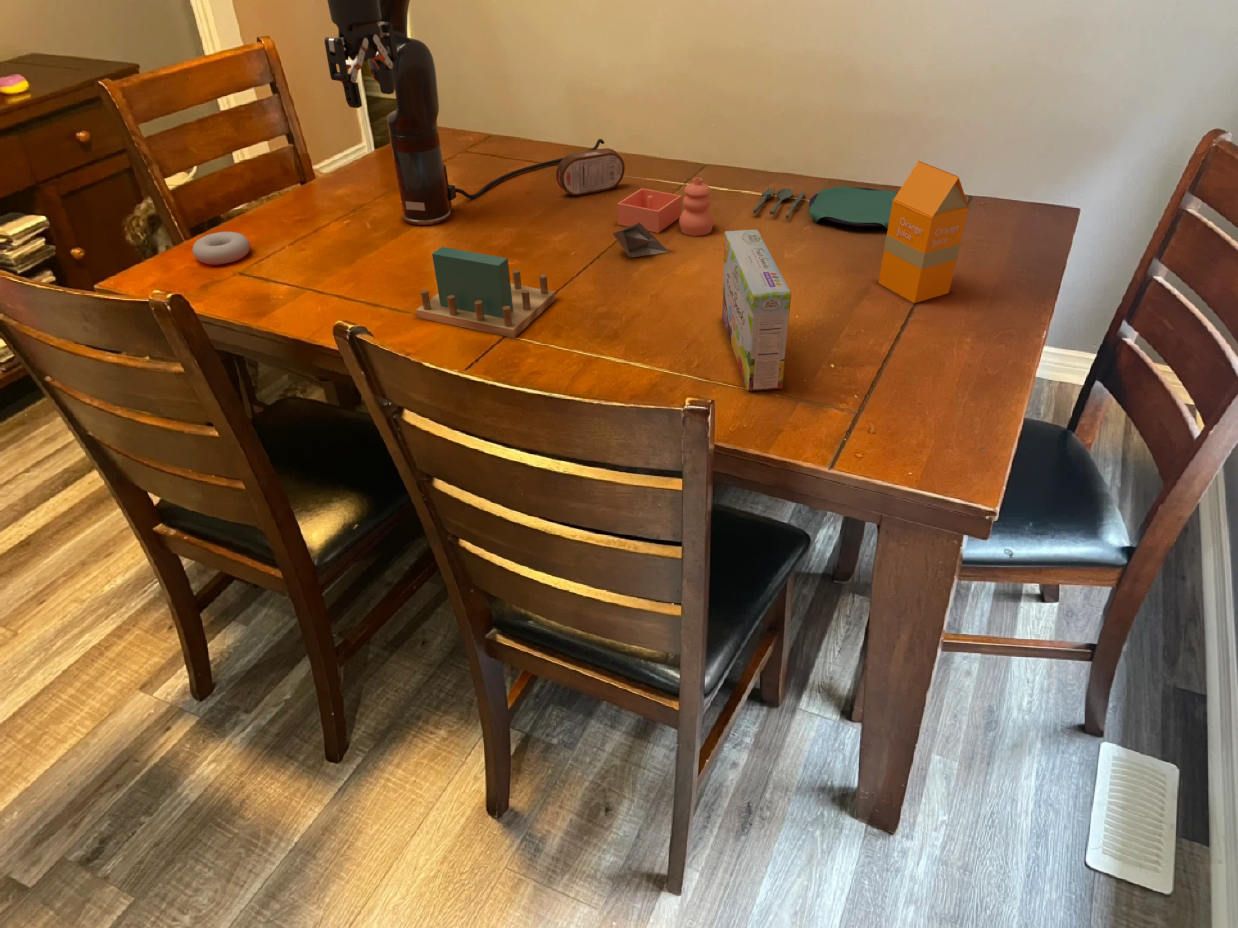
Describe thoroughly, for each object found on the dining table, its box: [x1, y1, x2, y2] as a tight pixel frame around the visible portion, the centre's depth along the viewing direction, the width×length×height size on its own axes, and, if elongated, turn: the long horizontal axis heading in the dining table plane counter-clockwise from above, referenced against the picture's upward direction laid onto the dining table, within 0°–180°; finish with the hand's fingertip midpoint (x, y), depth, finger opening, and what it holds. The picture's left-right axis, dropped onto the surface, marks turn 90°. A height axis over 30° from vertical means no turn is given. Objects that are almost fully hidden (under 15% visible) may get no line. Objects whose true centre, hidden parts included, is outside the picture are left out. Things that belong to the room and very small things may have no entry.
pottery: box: [616, 177, 714, 237], centre depth 164 cm, size 18×10×10 cm, turn 59°
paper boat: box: [612, 223, 670, 258], centre depth 154 cm, size 12×6×9 cm
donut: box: [191, 231, 251, 266], centre depth 158 cm, size 10×3×10 cm
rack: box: [415, 269, 556, 339], centre depth 139 cm, size 14×18×4 cm
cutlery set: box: [752, 185, 898, 229], centre depth 170 cm, size 20×30×2 cm, turn 69°
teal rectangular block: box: [431, 246, 513, 318], centre depth 135 cm, size 3×12×9 cm, turn 66°
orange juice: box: [877, 160, 970, 304], centre depth 137 cm, size 8×9×20 cm
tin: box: [555, 147, 626, 196], centre depth 180 cm, size 15×3×8 cm, turn 115°
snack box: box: [721, 228, 792, 392], centre depth 123 cm, size 21×6×15 cm, turn 5°
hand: (371, 100), depth 139 cm, fingers open, 8 cm apart
